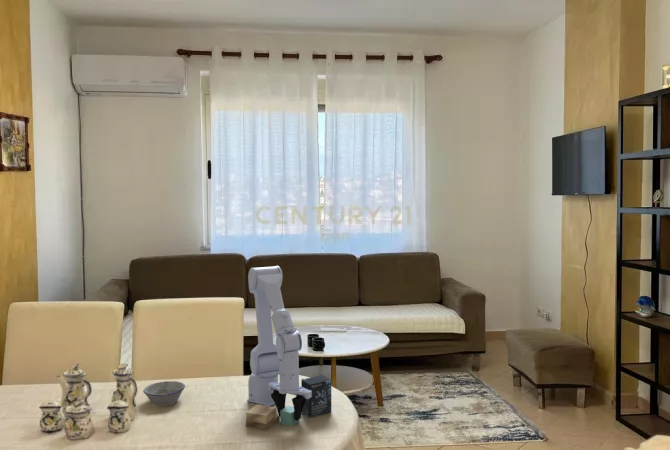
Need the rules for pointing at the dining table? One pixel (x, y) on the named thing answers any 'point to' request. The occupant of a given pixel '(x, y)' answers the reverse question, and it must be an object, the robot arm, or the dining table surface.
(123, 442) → the dining table surface
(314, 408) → the box
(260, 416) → the slab top
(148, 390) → the bowl
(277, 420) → the slab bottom
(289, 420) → the teal cube
